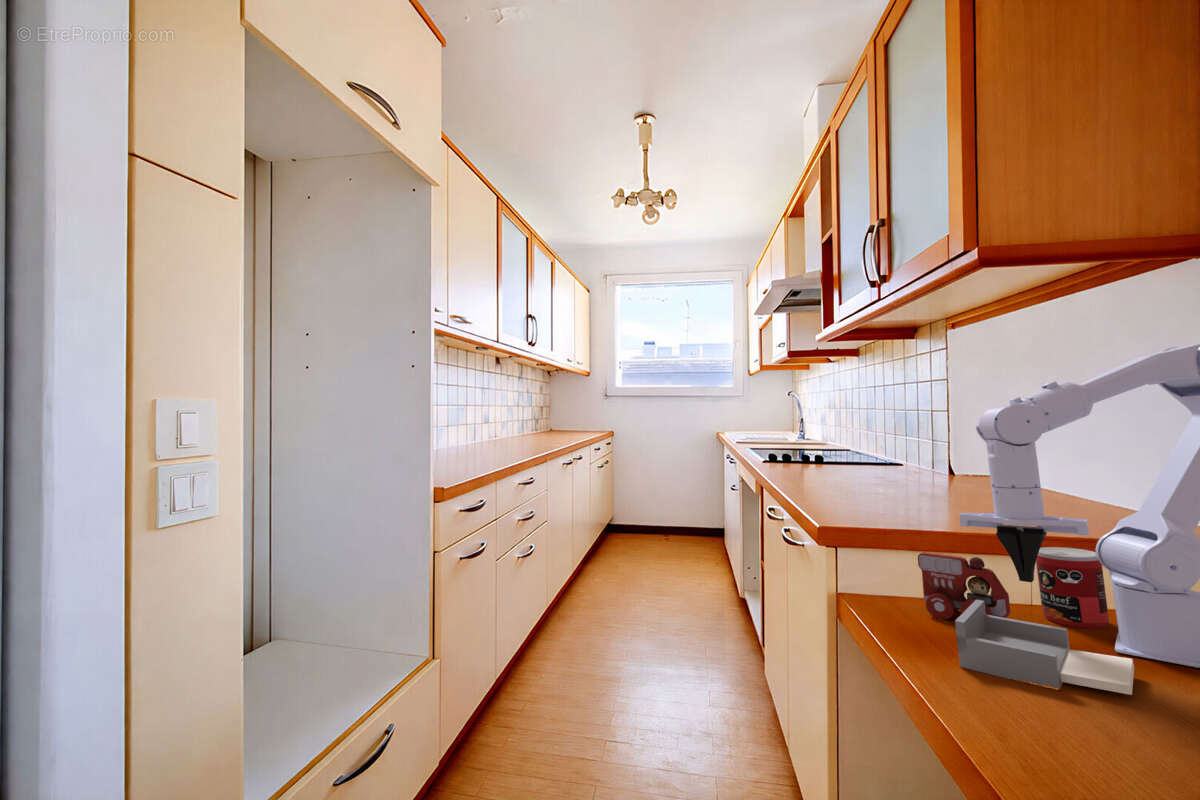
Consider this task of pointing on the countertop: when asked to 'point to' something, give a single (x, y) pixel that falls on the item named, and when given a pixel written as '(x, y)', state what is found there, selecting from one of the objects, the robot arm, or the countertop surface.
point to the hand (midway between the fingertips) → (1026, 580)
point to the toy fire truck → (960, 585)
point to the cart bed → (1010, 647)
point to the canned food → (1072, 587)
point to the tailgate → (1098, 671)
